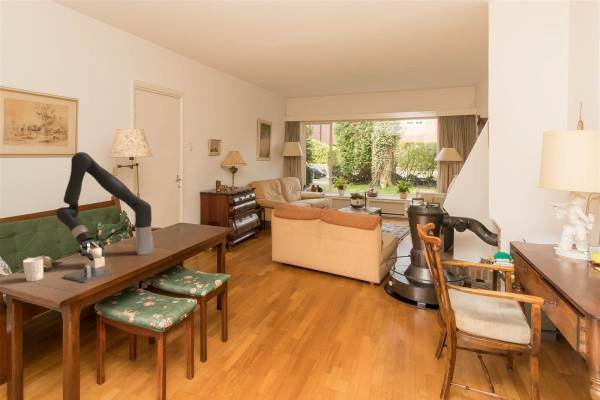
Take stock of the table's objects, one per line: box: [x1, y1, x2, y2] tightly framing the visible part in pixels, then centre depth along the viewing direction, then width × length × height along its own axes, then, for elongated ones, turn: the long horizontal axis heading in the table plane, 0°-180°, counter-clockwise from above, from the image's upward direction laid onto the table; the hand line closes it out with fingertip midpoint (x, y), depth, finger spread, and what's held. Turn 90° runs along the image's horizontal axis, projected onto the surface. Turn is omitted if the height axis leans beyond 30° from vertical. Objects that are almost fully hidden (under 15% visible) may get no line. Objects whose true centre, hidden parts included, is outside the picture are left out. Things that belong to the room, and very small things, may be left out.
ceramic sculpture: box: [25, 254, 63, 271], centre depth 181 cm, size 11×9×15 cm
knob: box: [87, 247, 106, 268], centre depth 186 cm, size 6×6×10 cm
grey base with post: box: [63, 263, 112, 284], centre depth 172 cm, size 14×16×6 cm
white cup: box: [22, 256, 44, 283], centre depth 166 cm, size 8×8×10 cm
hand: (98, 258), depth 186 cm, fingers closed on knob, 5 cm apart
